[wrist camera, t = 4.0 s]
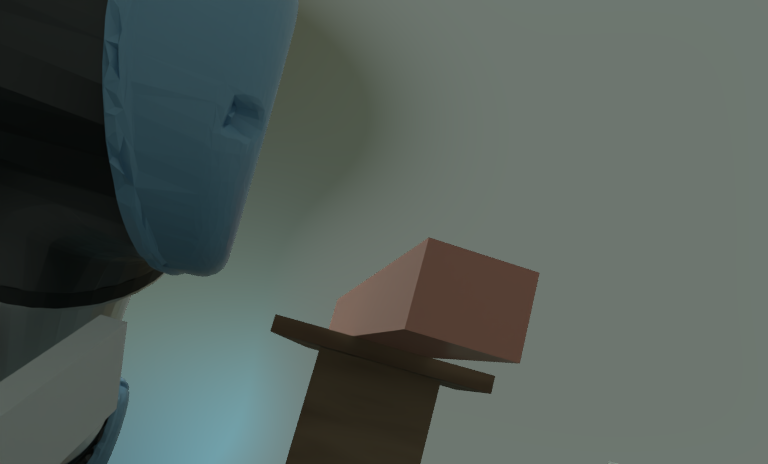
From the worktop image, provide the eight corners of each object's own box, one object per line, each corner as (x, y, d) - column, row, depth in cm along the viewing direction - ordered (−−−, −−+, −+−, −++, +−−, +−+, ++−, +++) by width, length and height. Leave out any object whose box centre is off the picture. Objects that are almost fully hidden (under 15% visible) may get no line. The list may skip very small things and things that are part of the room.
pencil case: (519, 363, 22) (539, 272, 23) (404, 328, 22) (428, 237, 22) (376, 354, 51) (387, 314, 52) (325, 339, 51) (337, 299, 51)
